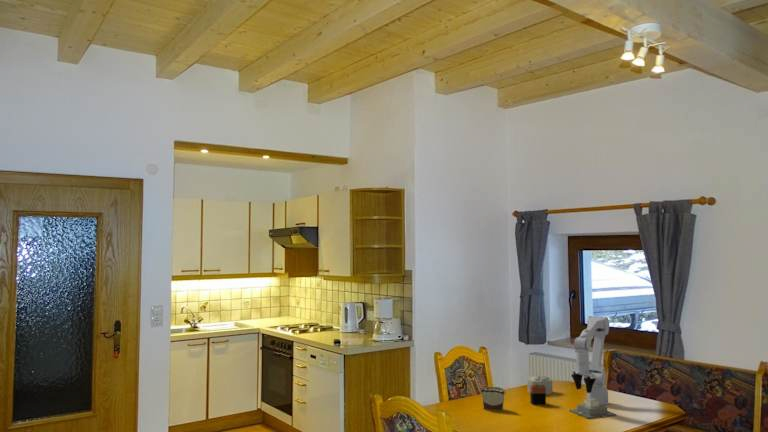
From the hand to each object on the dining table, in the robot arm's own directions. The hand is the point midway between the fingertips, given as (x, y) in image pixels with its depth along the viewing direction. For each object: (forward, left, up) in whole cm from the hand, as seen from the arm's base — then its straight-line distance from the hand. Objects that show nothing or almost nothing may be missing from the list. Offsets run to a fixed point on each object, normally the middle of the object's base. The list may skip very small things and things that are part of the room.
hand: (583, 390), depth 282 cm
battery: (+14, -18, -10) cm, 25 cm away
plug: (0, +6, -9) cm, 10 cm away
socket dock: (0, +6, -9) cm, 11 cm away
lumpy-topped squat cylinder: (-1, -38, -10) cm, 40 cm away
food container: (+39, -18, -10) cm, 44 cm away
